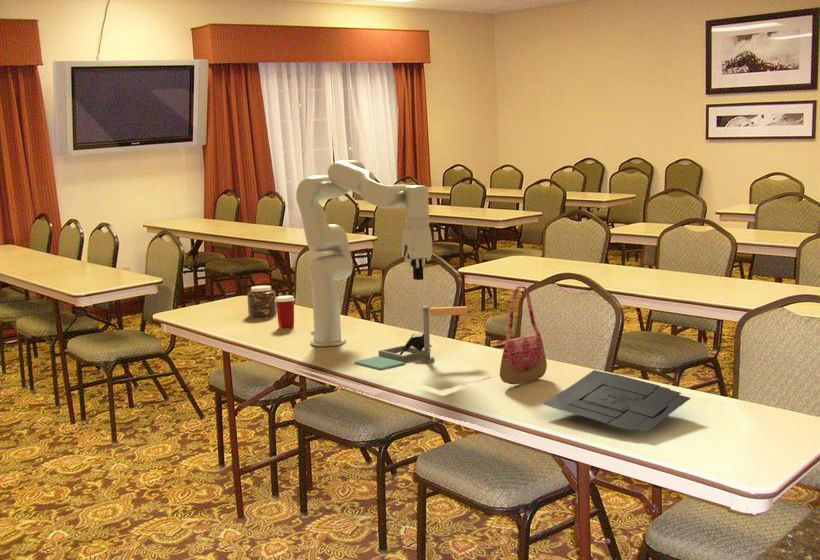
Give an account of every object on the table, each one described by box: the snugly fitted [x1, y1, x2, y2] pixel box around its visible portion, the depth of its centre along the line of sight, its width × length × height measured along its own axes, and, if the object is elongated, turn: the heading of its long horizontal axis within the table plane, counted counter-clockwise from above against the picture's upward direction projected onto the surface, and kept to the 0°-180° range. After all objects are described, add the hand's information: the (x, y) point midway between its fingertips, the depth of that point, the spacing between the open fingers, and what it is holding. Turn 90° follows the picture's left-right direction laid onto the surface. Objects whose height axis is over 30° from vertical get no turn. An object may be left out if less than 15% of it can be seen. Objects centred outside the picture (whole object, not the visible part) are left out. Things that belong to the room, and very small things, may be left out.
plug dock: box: [378, 308, 435, 364], centre depth 286 cm, size 20×11×18 cm, turn 41°
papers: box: [541, 369, 692, 432], centre depth 221 cm, size 24×30×4 cm
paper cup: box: [275, 295, 295, 330], centre depth 340 cm, size 8×8×14 cm
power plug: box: [399, 331, 433, 355], centre depth 288 cm, size 6×8×12 cm
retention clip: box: [421, 305, 469, 322], centre depth 279 cm, size 15×3×5 cm, turn 90°
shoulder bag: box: [499, 285, 548, 385], centre depth 250 cm, size 17×3×28 cm, turn 128°
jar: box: [247, 285, 277, 319], centre depth 363 cm, size 12×12×15 cm
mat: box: [353, 355, 406, 371], centre depth 281 cm, size 14×10×1 cm
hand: (418, 279), depth 284 cm, fingers closed
